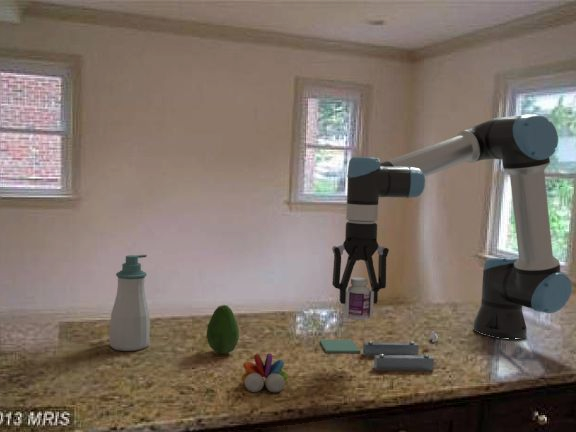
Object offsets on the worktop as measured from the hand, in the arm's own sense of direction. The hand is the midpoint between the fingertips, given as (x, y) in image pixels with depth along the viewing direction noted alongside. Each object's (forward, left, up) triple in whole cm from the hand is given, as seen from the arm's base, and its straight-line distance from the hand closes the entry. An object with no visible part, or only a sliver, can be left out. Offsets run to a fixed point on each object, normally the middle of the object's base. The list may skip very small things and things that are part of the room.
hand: (357, 316), depth 136 cm
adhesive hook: (-29, -17, -12) cm, 35 cm away
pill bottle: (0, 0, -1) cm, 1 cm away
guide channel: (-11, 0, -11) cm, 15 cm away
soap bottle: (+55, -11, -11) cm, 58 cm away
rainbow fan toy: (+24, +15, -12) cm, 31 cm away
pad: (+1, -11, -11) cm, 16 cm away
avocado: (+32, -6, -11) cm, 35 cm away
